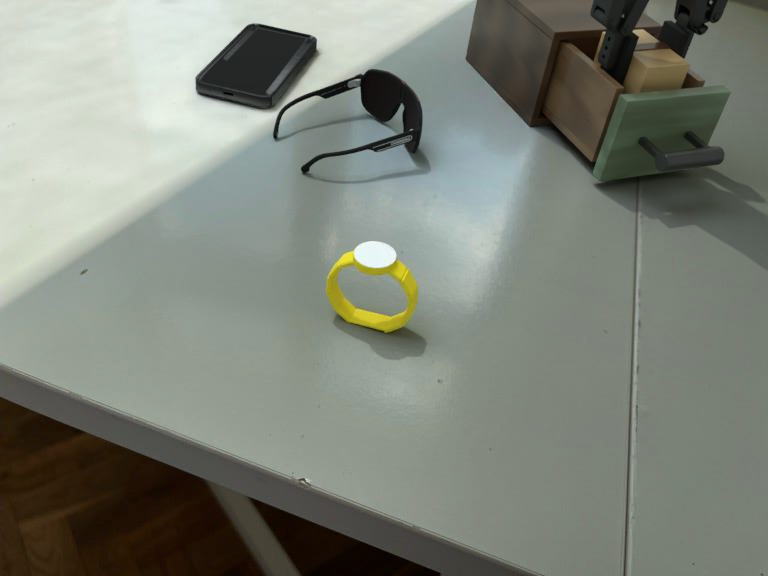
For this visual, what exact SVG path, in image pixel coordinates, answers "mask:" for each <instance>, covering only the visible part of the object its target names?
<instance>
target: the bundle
mask: <svg viewBox="0 0 768 576" xmlns="http://www.w3.org/2000/svg"><path fill="white" fill-rule="evenodd" d="M633 33H635V34H636V35H637V36H639V39H638V42H637V45H636V48H635V51H634V53H633V56H632V59H631V62H630V65H629V68H628V71H627V74H626V77H625V80H624V83H623V87H624V90H623V93H622V94H631V93H642V92H653V91H664V90H675V89H681V87H682V84H683V82H684V79H685V77H686V74H687V71H688V69H690V66H691V63H690V62H689V61H687V60H686V59H683V58H682V57H680V56H679V55H678V54H676V53H675V52H674V51H672V50H671V47H670V46H668V45H667V44H665V43H664V42H660V41H658V40H657V39H656V38H654V37H653V36H652V35H650V34H649V33H647V32H646V31H645V30H643V29H639V30H633ZM604 36H605V32H602V35H601V39H600V42H599V45H598V49H597V52H596V55H595V58H594V63H596V64H597V65H598V66H599V67H600V66H601V64H600V63H599V62H598V55H599V52H600V48H601V45H602V42H603V39H604Z"/></svg>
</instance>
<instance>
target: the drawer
mask: <svg viewBox="0 0 768 576" xmlns="http://www.w3.org/2000/svg"><path fill="white" fill-rule="evenodd" d="M600 39H601V37H600V38H583V39H567V40H560V42H559V46H558V49H557V53H556V56H555V60H554V64H553V67H552V71H551V74H550V78H549V82H548V85H547V89H546V93H545V96H544V100H543V103H542V107H541V112H542V113H543V114H544V115H545V116H546V117H547V118H548V119H549V120H550V121H551V122H552V123H553V124H552V125H554V126H555V127H556V128H557V129H558V130H559V131H560V132H561V133H562V134H563V135H564V136H565V137H566V138H567V139H568V140H569V141H570V142H571V143H572V144H573V145H574V146H575V147H576V148H577V149H578V150H579V151H580V153H582V154H583V155H584V156H585V157H586V158H587V159H588V160H589V161H590V162H591V163H595V165H594V167H593V171H592V175H593V177H594V178H595V179H596V180H597V181H598V182H606V181H611V180H618V179H620V180H621V179H628V178H634V177H635V178H636V177H641V176H648V175H649V176H650V175H657V174H665V173H671V172H679V171H685V170H686V171H687V170H692V169H697V168H705V167H712V166H718V165H721V164H722V163H723V162H724V160H725V151H724V149H723V148H722V147H721V146H720V145H712V146H710V145H709V142H710V141H711V138H712V135H713V134H714V132H715V129H716V128H717V124H718V123H719V121H720V118H721V116H722V114H723V112H724V109H725V107H726V105H727V103H728V101H729V98H730V96H731V94H732V91H731V90H730V89H729V88H728V87H726V86H725V85H723V84H720V85H719V84H718V85H710V86H708V85H707V86H705V83H706V79H704V78H703V77H701V76H700V75H699V74H698V73H696V72H695V71H694V70H692V68H691V69H690V68H689V69H688V71H687V74H686V77H685V79H684V82H683V84H682V87H681V89H675V90H664V91H653V92H642V93H631V94H622V93H623V90H624V87H623V86H622V85H620V84H619V83H618V82H617V81H616V80H615V79H613V78H612V77H611V76H610V75H609V74H607V73H606V72H605V71H604V70H603V69H602V68H600V67H599V66H598V65H597V64H596V63H594V58H595V55H596V52H597V49H598V45H599V42H600Z"/></svg>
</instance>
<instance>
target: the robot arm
mask: <svg viewBox="0 0 768 576" xmlns="http://www.w3.org/2000/svg"><path fill="white" fill-rule="evenodd" d="M649 2H650V0H594V1H593V4H592V8H591V11H590V14H591V16H592V17H593V18H594V19H595V20H597V21H598V22H599V23H601V24H602V25H603V26H604V27H606V32H605V36H604V39H603V42H602V45H601V48H600V52H599V55H598V62H599V63H600V64H601V66H600V68H602V69H603V70H604V71H605V72H606V73H607V74H609V75H610V76H611V77H612V78H613V79H615V80H616V81H617V82H618V83H619V84H620V85H622V86H623V83H624V80H625V77H626V74H627V71H628V68H629V65H630V62H631V59H632V56H633V53H634V51H635V48H636V45H637V42H638V39H639V36H637V35H636V34H635V33H633V30H634V28H635V26H636V24H637V22H638V21H639V19H640V17H641V15H642V13H644V11H645V9H646V8H647V5H648V4H649ZM710 2H711V3H710ZM728 2H729V0H676V2H675V8H674V13H673V18H674V20H675V22H674V21H672V20H664V21H663V24H662V29H661V32H660V35H659V37H658V41H660V42H664V43H665V44H667V45H668V46H670V47H671V50H672V51H674V52H675V53H676V54H678V55H679V56H680V57H682V58H683V59H684V60H686V59H685V58H686V56H687V53H688V51H689V48H690V46H691V44H692V41H693V39H694V35H695V34H696V35H697V36H703V35H705V34H706V33H707V32H708V30H709V26H708V25H706V24H707V23H711V24H716V23H718V22H719V21H720V20H721V18H722V16H723V14H724V11H725V9H726V7H727V4H728ZM623 14H624V16H623Z"/></svg>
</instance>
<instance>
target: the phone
mask: <svg viewBox="0 0 768 576" xmlns="http://www.w3.org/2000/svg"><path fill="white" fill-rule="evenodd" d="M317 46H318V38H317V37H315V36H314V35H312V34H307V33H303V32H299V31H295V30H291V29H290V30H289V29H285V28H281V27H276V26H273V25H267V24H263V23H249V24H247V25H246V26H244V28H243V29H242V30H241V31H240V32H239V33H237V35H236V36H235V37H234V38H233V39H231V41H230V42H229V43H228V44H226V46H225V47H223V48H222V50H221V51H220V52H218V53H217V55H216V56H215V57H214V58H212V59H211V61H209V63H207V64H206V65H205V67H204V68H203V69H202V70H201V71H199V72H198V73H197V75H196V76H195V78H194V79H195V91H196V92H197V93H199V94H201V95H204V96H209V97H212V98H217V99H221V100H226V101H230V102H234V103H238V104H242V105H248V106H251V107H256V108H260V109H268V108H272V107H273V106H275V104H277V102H278V101H279V99H280V98H281V97H282V96H283V94H284V93H285V92H286V91H287V89H288V88H289V87H290V85H291V84H292V83H293V82H294V80H295V79H296V78H297V76H298V75H299V74H300V73H301V71H302V70H303V69H304V67H305V66H306V65H307V63H308V62H309V61H310V59H311V58H312V57H313V56H314V55H315V54H316V52H317Z"/></svg>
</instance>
